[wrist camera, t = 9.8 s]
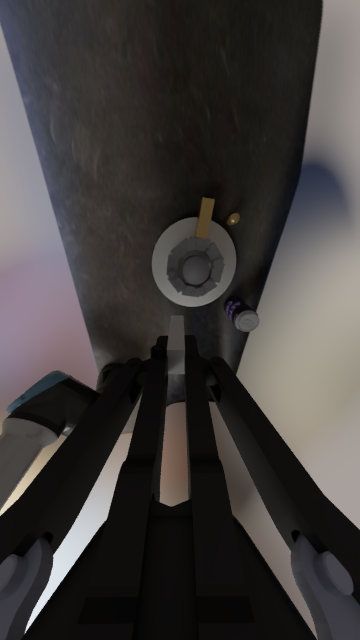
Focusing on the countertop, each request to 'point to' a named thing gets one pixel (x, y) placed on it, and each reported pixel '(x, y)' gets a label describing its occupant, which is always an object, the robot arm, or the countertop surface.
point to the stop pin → (232, 219)
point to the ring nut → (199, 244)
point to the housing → (192, 262)
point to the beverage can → (241, 314)
